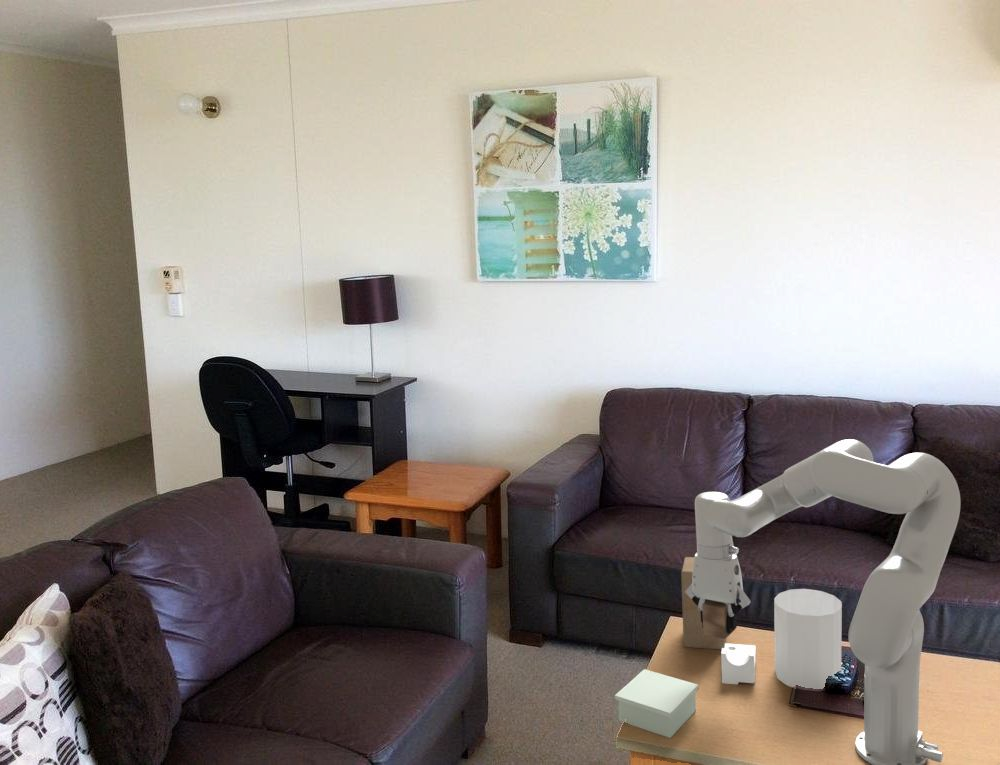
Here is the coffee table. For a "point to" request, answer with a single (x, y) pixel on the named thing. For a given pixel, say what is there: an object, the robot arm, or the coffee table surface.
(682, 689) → the sage box
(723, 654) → the bracket
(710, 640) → the wooden block
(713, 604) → the walnut block
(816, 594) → the container
